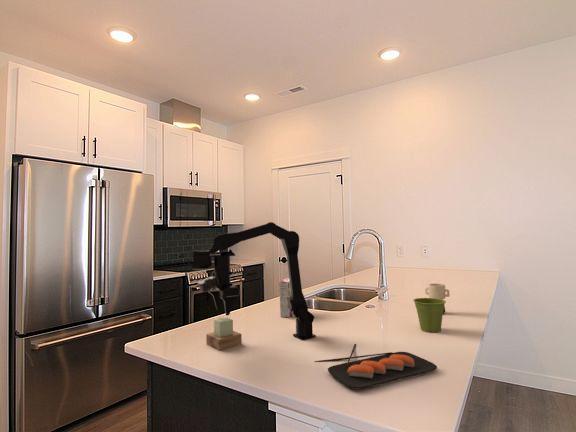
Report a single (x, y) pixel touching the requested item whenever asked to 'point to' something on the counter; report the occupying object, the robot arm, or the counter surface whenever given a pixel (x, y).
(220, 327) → the green cube
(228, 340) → the walnut block
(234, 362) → the counter surface
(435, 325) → the plant pot
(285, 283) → the candy bar box
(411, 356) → the sushi plate
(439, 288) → the character mug
